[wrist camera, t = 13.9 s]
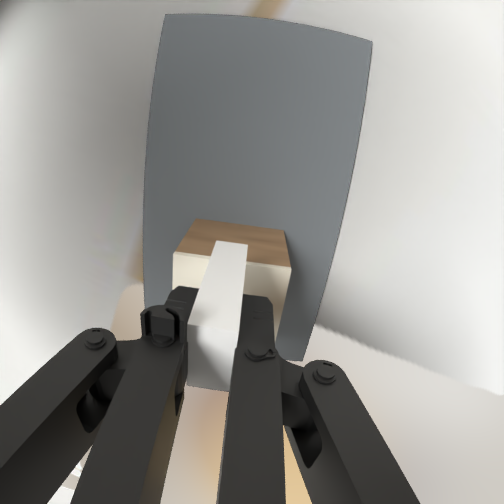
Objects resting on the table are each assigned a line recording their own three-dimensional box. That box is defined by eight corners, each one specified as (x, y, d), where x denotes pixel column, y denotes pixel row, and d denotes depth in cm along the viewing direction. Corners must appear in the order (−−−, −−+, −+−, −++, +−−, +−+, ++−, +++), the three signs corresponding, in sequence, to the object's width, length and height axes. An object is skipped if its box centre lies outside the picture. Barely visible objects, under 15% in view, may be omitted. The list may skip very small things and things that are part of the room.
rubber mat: (166, 15, 18) (165, 14, 18) (371, 42, 18) (372, 41, 18) (147, 338, 30) (147, 339, 30) (302, 359, 30) (302, 361, 30)
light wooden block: (172, 344, 21) (191, 293, 27) (271, 357, 21) (269, 304, 27) (173, 254, 18) (195, 218, 24) (291, 270, 18) (283, 230, 25)
